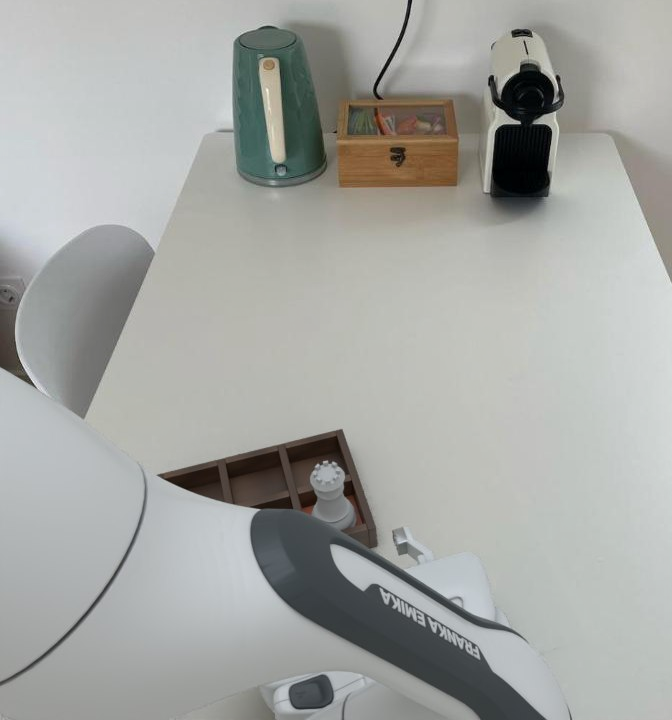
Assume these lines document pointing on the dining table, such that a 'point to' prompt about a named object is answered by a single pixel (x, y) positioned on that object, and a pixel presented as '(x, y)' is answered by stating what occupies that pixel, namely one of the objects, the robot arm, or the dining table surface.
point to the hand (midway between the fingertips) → (348, 546)
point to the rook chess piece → (331, 497)
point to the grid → (281, 479)
